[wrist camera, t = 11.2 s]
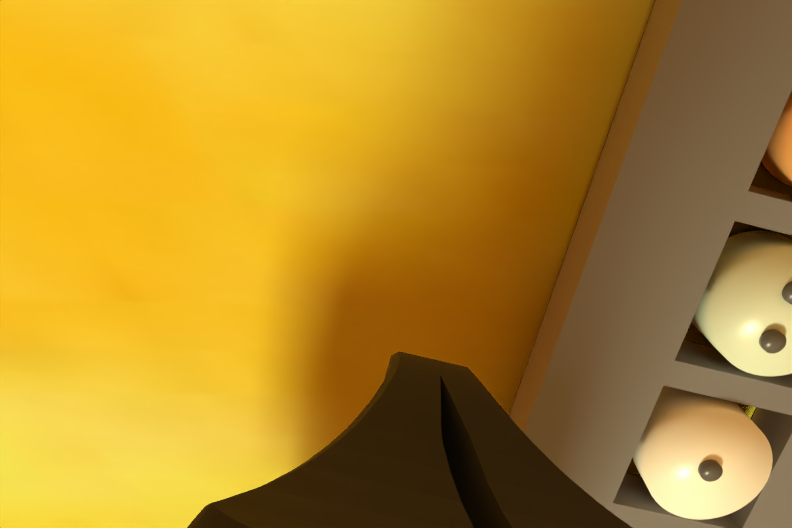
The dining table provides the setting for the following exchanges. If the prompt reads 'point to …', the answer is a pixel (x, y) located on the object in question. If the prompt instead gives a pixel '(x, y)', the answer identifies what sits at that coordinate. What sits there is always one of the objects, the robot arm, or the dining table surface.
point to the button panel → (665, 258)
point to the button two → (751, 303)
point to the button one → (702, 455)
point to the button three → (781, 147)
